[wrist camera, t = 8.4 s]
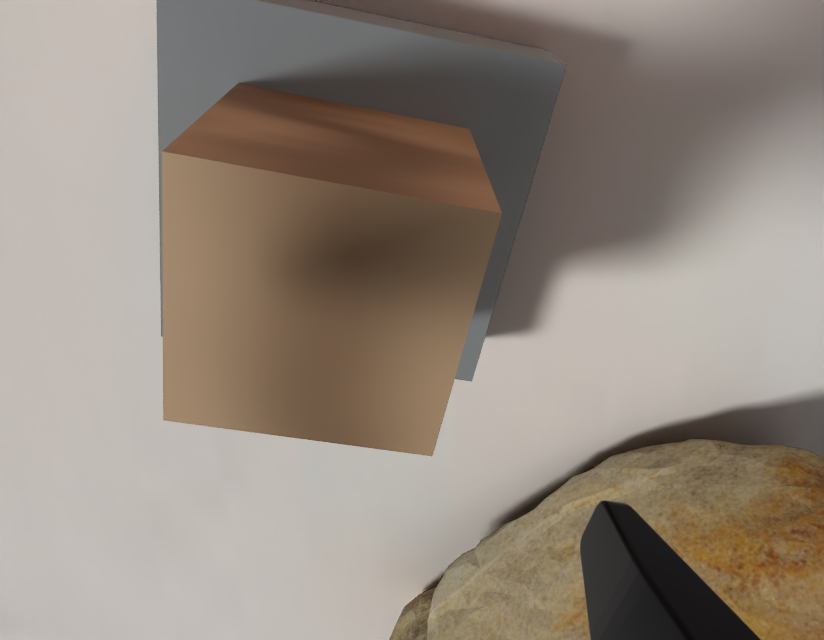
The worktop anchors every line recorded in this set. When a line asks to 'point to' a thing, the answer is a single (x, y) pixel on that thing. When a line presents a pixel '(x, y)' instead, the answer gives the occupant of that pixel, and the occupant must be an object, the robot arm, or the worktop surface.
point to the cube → (320, 269)
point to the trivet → (368, 90)
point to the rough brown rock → (675, 523)
